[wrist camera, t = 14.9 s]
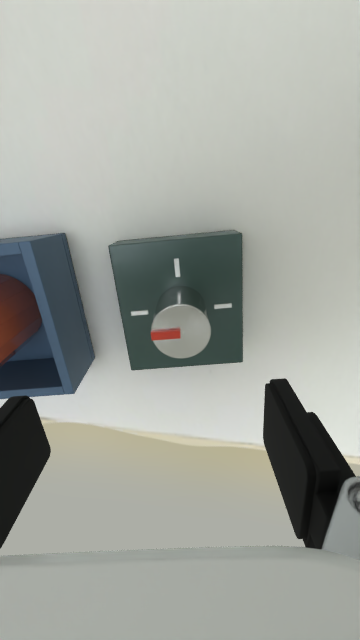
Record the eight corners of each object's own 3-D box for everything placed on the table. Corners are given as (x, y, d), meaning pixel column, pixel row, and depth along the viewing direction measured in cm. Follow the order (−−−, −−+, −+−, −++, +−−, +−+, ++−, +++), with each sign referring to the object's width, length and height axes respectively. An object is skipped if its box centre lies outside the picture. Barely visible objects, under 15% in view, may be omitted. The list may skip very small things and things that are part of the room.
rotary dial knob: (204, 283, 21) (209, 303, 17) (207, 329, 23) (212, 358, 19) (153, 287, 22) (146, 308, 17) (159, 333, 23) (154, 363, 19)
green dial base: (235, 229, 23) (242, 233, 20) (236, 346, 27) (243, 363, 24) (116, 240, 23) (107, 246, 20) (136, 354, 27) (130, 371, 25)
